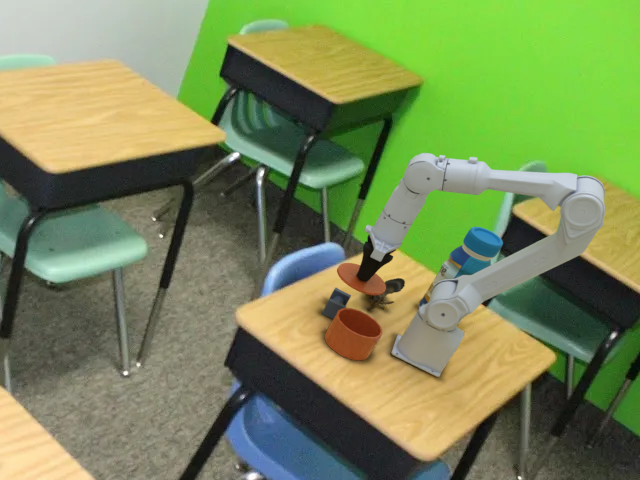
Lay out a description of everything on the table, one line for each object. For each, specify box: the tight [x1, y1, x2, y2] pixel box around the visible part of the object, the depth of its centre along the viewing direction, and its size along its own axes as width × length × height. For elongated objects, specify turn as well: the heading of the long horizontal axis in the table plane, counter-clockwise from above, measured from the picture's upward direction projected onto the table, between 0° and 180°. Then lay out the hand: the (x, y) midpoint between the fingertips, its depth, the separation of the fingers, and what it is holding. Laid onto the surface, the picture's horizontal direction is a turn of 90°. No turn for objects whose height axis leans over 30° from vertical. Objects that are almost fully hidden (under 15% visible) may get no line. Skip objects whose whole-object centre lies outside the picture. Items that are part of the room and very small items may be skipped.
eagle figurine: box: [367, 277, 406, 311], centre depth 189 cm, size 8×7×9 cm
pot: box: [324, 307, 384, 361], centre depth 174 cm, size 9×9×5 cm
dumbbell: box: [321, 287, 352, 320], centre depth 183 cm, size 6×3×3 cm, turn 152°
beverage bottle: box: [418, 226, 504, 309], centre depth 188 cm, size 8×8×20 cm
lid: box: [336, 262, 386, 296], centre depth 176 cm, size 10×10×4 cm
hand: (363, 275), depth 176 cm, fingers closed on lid, 2 cm apart
